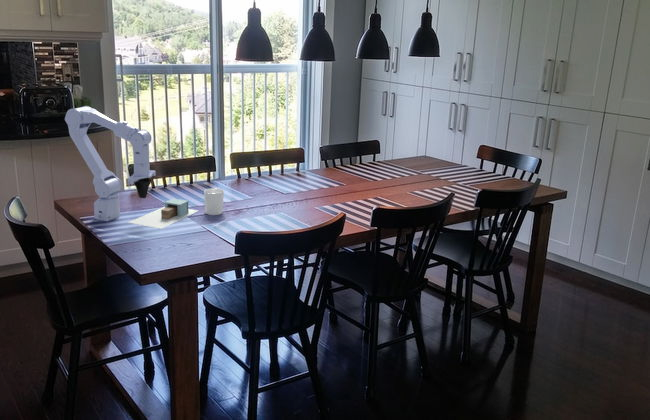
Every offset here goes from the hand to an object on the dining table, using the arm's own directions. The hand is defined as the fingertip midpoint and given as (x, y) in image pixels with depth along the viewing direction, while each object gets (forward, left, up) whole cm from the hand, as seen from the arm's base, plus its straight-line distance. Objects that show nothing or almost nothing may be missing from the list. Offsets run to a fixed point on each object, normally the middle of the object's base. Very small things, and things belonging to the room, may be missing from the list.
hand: (142, 197), depth 230 cm
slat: (+10, -6, -9) cm, 15 cm away
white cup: (+22, -18, -10) cm, 30 cm away
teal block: (+13, -6, -9) cm, 17 cm away
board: (+8, -4, -10) cm, 13 cm away
